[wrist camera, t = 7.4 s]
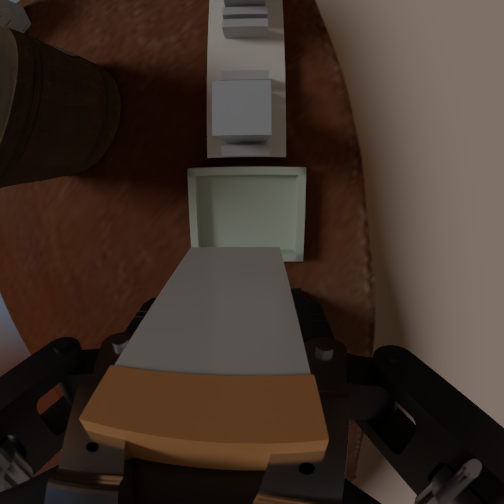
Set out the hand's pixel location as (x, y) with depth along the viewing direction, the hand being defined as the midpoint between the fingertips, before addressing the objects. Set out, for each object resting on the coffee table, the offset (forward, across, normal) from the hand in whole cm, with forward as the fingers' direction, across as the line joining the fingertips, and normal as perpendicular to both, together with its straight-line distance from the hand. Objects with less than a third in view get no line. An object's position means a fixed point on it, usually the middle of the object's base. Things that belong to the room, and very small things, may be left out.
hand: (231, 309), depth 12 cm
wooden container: (+22, +22, -13) cm, 34 cm away
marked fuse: (+2, 0, 0) cm, 2 cm away
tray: (+22, 0, 0) cm, 22 cm away
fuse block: (+22, 0, -17) cm, 28 cm away
